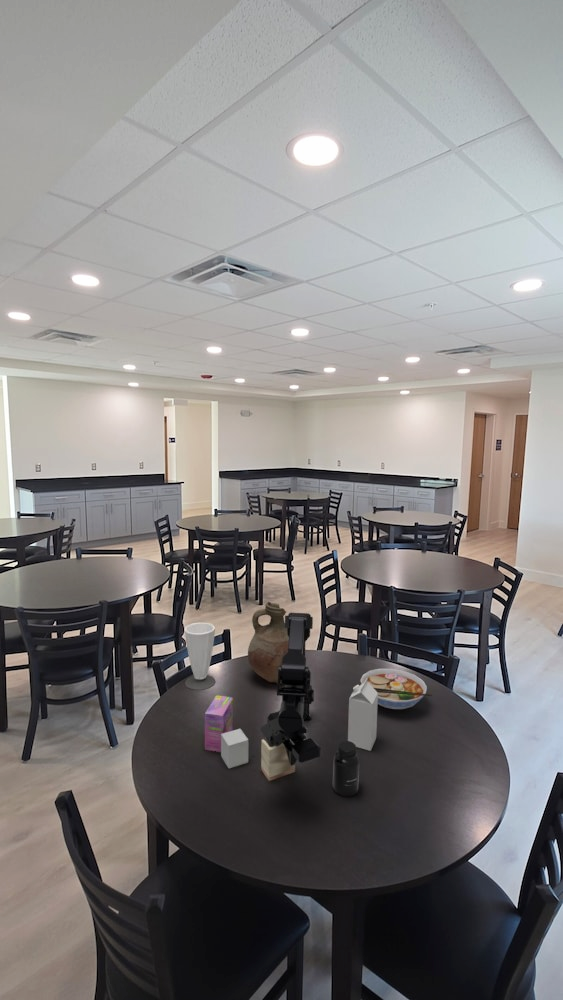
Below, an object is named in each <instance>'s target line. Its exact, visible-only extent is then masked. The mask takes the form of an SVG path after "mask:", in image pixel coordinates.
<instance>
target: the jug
mask: <svg viewBox="0 0 563 1000" xmlns="http://www.w3.org/2000/svg"><path fill="white" fill-rule="evenodd" d="M264 606H265V608H263V609H261V608H260V609H258V610H256V611H255V612H254V613H253V615H252V618H251V619H252V620H251V623H252V627H253V629H254V634H253V636H252V638H251V640H250V642H249V645H248V648H247V659H248V663H249V664H250V666H251V668H252V669H253V671H254V672H255V673H256V674H257V675H258V676H260V677H261V678H262V679H264V680H266V681H267V682H269V683H276V684H278V669H279V666H281V664H282V657H283V656H284V655H285V654H286V653H287V652H288V643H289V636H288V635H287V628H285V616H286V613H287V611H286V610H285V608H283V607H281V606H280V604H279V603H276V602H271V601H267V602H266V603H265V605H264ZM262 616H263V617H264V616H269V617H270V621H269V623H267V624H265V625H261V624H260V623H259V619H260V617H262Z"/></svg>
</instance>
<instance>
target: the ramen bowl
mask: <svg viewBox="0 0 563 1000" xmlns="http://www.w3.org/2000/svg"><path fill="white" fill-rule="evenodd" d="M366 679H367V682H368V683H369V684H370V685H371V686H372V687H373V688H374V689H375V690H376V691H377V693H378V704H377V705H379V706H381V707H384V708H387V709H392V710H405V709H408V708H412V707H414V705H416V704H417V703H419V702H420V701H421V700H422V699H423V698H424V697H431V694H429V693H427V688H428V686H427V685H426V683H425V681H424V680H423V679H421V678H420V677H419V676H417V675H415V674H414V673H411V672H408V671H406V670H401V669H397V668H396V669H395V668H377V669H376V668H375V669H371V670H368V671H366V673H364V674H362V676H361V678H360V680H359V681H360V683H361V684H363V683H364V682H365V680H366ZM361 684H360V685H361Z"/></svg>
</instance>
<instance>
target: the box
mask: <svg viewBox="0 0 563 1000" xmlns="http://www.w3.org/2000/svg"><path fill="white" fill-rule="evenodd" d="M233 710H234V698H233V697H232V696H225V695H215V696H214V698H213V700H212V701H211V702H210V704H209V707H208V708H207V710H206V711H205V712H204V750H205V751H209V752H215V751H216V753H221V734H223V733H226V732H230V731H233V730H234V729H233V719H234V718H233V717H234V716H233V713H234V711H233Z"/></svg>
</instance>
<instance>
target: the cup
mask: <svg viewBox="0 0 563 1000" xmlns="http://www.w3.org/2000/svg"><path fill="white" fill-rule="evenodd" d="M215 634H216V627H215V625H214V624H212V623H209V622H203V621H202V622H193V623H189V624H188V625H186V626H185V627H184V636H185V644H186V648H187V653H188V659H189V662H190V668H191V671H192V673H193V675H191V676H190V677H189V678H187V679H186V680H185V682H184V685H185V686H186V687H187V688H188V689H190V690H194V691H195V690H196V691H201V690H202V691H203V690H207V689H209V688H212V687H213V686H215V684H216V679H215V678H214V676H212V675H210V674H208V673H209V670H210V665H211V661H212V655H213V649H214V644H215V636H216V635H215Z"/></svg>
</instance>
